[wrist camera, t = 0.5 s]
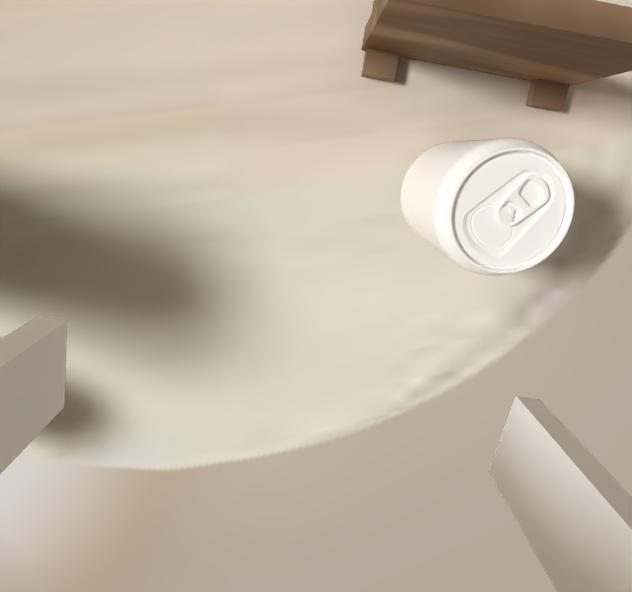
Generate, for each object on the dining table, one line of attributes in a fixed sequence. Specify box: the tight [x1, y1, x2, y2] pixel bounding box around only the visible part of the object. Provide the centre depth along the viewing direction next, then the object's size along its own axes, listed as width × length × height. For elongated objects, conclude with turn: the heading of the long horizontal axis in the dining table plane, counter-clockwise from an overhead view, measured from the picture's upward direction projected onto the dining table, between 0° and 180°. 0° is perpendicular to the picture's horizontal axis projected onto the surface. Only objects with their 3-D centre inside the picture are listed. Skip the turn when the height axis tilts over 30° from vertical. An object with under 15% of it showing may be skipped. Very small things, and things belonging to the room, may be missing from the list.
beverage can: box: [401, 138, 574, 276], centre depth 31 cm, size 8×8×12 cm
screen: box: [361, 0, 632, 110], centre depth 28 cm, size 5×16×12 cm, turn 81°
